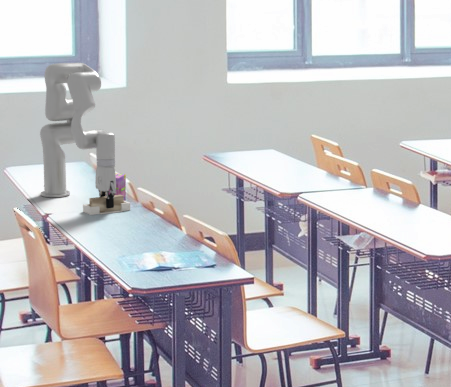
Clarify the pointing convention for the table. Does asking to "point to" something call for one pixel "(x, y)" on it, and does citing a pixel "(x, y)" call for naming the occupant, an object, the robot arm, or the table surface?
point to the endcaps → (96, 210)
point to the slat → (102, 203)
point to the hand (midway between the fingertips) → (106, 206)
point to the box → (120, 185)
